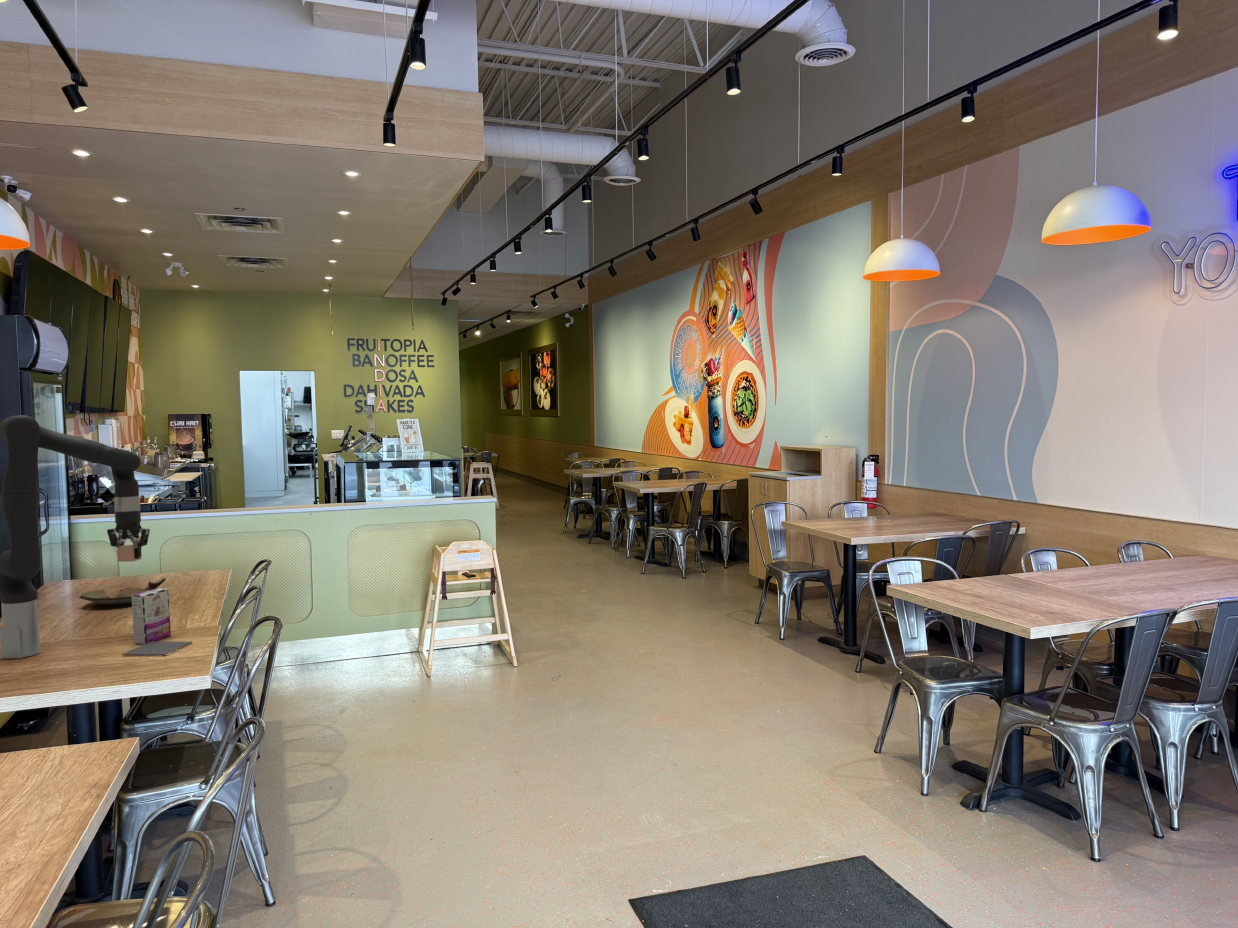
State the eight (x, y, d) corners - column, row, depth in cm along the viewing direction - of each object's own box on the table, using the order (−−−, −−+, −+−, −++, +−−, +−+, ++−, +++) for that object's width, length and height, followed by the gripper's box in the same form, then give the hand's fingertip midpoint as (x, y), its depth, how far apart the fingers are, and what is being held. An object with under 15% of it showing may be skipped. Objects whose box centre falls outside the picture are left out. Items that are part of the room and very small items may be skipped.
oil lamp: (80, 602, 320) (79, 584, 320) (165, 593, 337) (165, 575, 336) (78, 614, 302) (77, 594, 301) (168, 603, 318) (168, 584, 317)
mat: (165, 656, 246) (165, 654, 246) (122, 655, 246) (122, 653, 246) (192, 643, 260) (191, 641, 260) (150, 643, 260) (150, 641, 260)
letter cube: (131, 561, 269) (131, 546, 269) (117, 561, 269) (117, 546, 269) (141, 559, 274) (140, 543, 274) (127, 559, 274) (126, 543, 274)
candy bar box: (158, 635, 270) (156, 587, 269) (171, 635, 269) (169, 588, 268) (132, 644, 259) (130, 594, 258) (145, 644, 258) (143, 595, 257)
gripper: (99, 510, 267) (101, 560, 268) (140, 510, 267) (142, 560, 268) (114, 508, 275) (116, 556, 276) (154, 508, 274) (156, 556, 275)
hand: (129, 558), depth 272 cm, fingers closed on letter cube, 5 cm apart
